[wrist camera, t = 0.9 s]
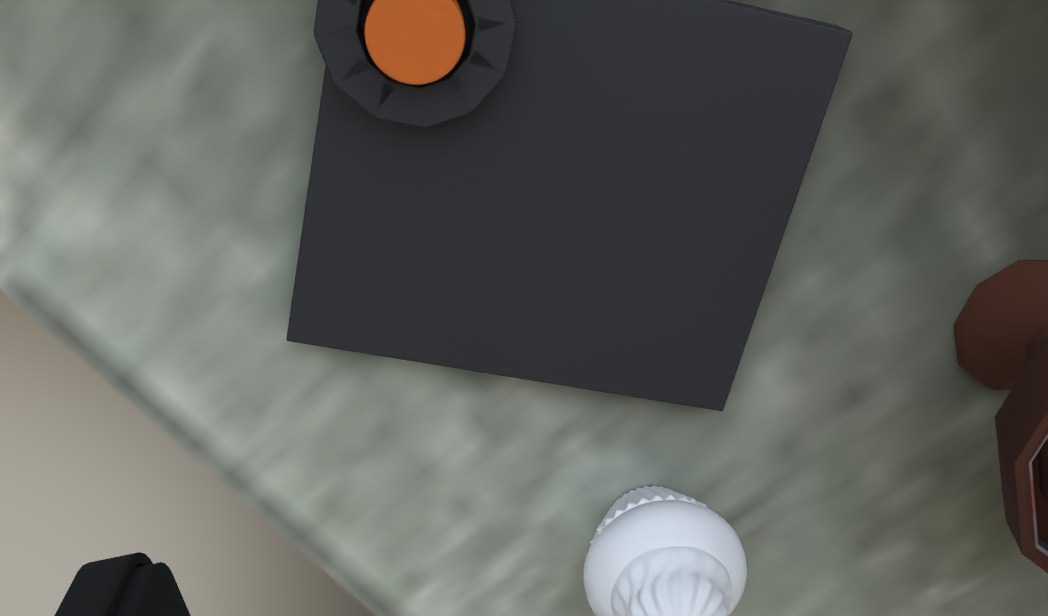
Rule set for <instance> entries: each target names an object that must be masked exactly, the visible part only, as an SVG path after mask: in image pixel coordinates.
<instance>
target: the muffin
mask: <svg viewBox="0 0 1048 616" xmlns="http://www.w3.org/2000/svg"><path fill="white" fill-rule="evenodd" d="M589 544H590V546H591V547H590V549H589V551H588V553H587V556H586V560H585V564H584V587H585V592H586V596H587V599H588V602H589V605H590V607H591V609H592V611H593V612H594V614H595V615H596V616H729V615H730V614H731V613H732V612H733V610H734V609H735V607H736V606H737V604H738V602H739V600H740V599H741V596H742V594H743V592H744V589H745V585H746V579H747V565H746V557H745V553H744V549H743V547H742V544H741V542H740V540H739V537H738V536H737V534H736V532H735V531H734V530H733V528H732V527H731V526H730V525H729V524H728V522H726V521H725V520H724V519H723V518H722V517H721V516H719V515H718V514H717V513H715V512H713V511H711V510H709V509H707V506H706V505H705V504H703V503H700V502H698V501H696V500H695V499H693V498H691V497H688V496H686V495H683V494H681V493H678V492H675V491H673V490H670V489H668V488H664V487H662V486H660V487H657V486H654V485H653V486H651V487H648V486H644V487H643V488H640V487H637V488H636V489H635V490H630V491H629V493H627V494H626V493H624V494H623V496H622V497H621V498H618V499H617V500H616V502H615V504H613V505H612V506H611V508H610V509H609V511H608V513H607V514H606V516H605V517H604V518H603V520H602V521H601V523H600V525H599V526H598V528H597V531H596V533H595V535H594V536H593V538H592V540H591V541H590V543H589Z"/></svg>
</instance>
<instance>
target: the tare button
mask: <svg viewBox="0 0 1048 616" xmlns="http://www.w3.org/2000/svg"><path fill="white" fill-rule="evenodd" d="M365 42H366V46H367V49H368V52H369V54H370V56H371V58H372V60H373V61H374V63H375V64H376V65H377V67H378V68H379V69H380V70H381V71H382V72H383V73H385V74H386V75H387V76H389V77H391V78H392V79H394V80H396V81H399V82H402V83H405V84H411V85H421V84H428V83H431V82H434V81H437V80H439V79H440V78H442V77H444V76H445V75H446V74H448V73H449V72H450V71H451V70H452V69H453V68H454V66H455V65H456V64H457V62H458V61H459V59H460V57H461V54H462V52H463V49H464V45H465V26H464V19H463V15H462V11H461V9H460V6H459V4H458V2H457V1H456V0H374V1H373V3H372V5H371V7H370V10H369V12H368V15H367V17H366V22H365Z"/></svg>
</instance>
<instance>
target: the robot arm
mask: <svg viewBox="0 0 1048 616" xmlns="http://www.w3.org/2000/svg"><path fill="white" fill-rule="evenodd" d="M55 616H190V614H189V611H188V609H187V607H186V604H185V602H184V600H183V597H182V595H181V593H180V590H179V588H178V586H177V583H176V581H175V579H174V576H173V574H172V572H171V570H170V569H169V567H168V566H167V565H166V564H165V563H161V562H160V563H156V564H153V563H152V561H151V560H150V558H149V557H147V555H145V554H143V553H140V552H139V553H134V554H129V555H124V556H120V557H115V558H110V559H105V560H100V561H95V562H90V563H87V564H85V565H83V566H82V567H81V569H80V570H79V571H78V572H77V574H76V576H75V578H74V580H73V582H72V584H71V586H70V588H69V589H68V591H67V593H66V595H65V597H64V599H63V601H62V603H61V604H60V607H59V608H58V610H57V612H56V614H55Z"/></svg>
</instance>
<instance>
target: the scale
mask: <svg viewBox="0 0 1048 616" xmlns="http://www.w3.org/2000/svg"><path fill="white" fill-rule="evenodd" d="M373 1H374V0H318V4H317V11H316V19H315V26H314V33H315V34H314V36H315V39H316V41H317V44H318V46H319V49H320V52H321V54H322V57H323V59H324V62H325V64H326V67H325V74H324V81H323V88H322V95H321V102H320V109H319V116H318V123H317V130H316V137H315V144H314V151H313V158H312V165H311V172H310V179H309V186H308V193H307V200H306V207H305V214H304V221H303V228H302V235H301V242H300V249H299V256H298V263H297V270H296V276H295V283H294V290H293V297H292V304H291V311H290V318H289V325H288V332H287V341H292V342H298V343H304V344H310V345H316V346H323V347H329V348H335V349H341V350H347V351H353V352H360V353H366V354H372V355H378V356H384V357H391V358H397V359H403V360H409V361H415V362H422V363H428V364H434V365H440V366H446V367H452V368H459V369H465V370H471V371H477V372H483V373H490V374H496V375H502V376H508V377H514V378H520V379H527V380H533V381H539V382H545V383H551V384H558V385H564V386H570V387H576V388H582V389H589V390H595V391H601V392H607V393H613V394H619V395H626V396H632V397H638V398H644V399H650V400H657V401H663V402H669V403H675V404H681V405H687V406H694V407H700V408H706V409H712V410H718V411H723V409H724V406H725V403H726V400H727V397H728V394H729V391H730V388H731V385H732V383H733V380H734V377H735V374H736V371H737V368H738V365H739V362H740V359H741V356H742V353H743V351H744V348H745V345H746V342H747V339H748V336H749V333H750V330H751V327H752V324H753V322H754V319H755V316H756V313H757V310H758V307H759V304H760V301H761V298H762V295H763V292H764V290H765V287H766V284H767V281H768V278H769V275H770V272H771V269H772V266H773V263H774V261H775V258H776V255H777V252H778V249H779V246H780V243H781V240H782V237H783V234H784V231H785V229H786V226H787V223H788V220H789V217H790V214H791V211H792V208H793V205H794V202H795V200H796V197H797V194H798V191H799V188H800V185H801V182H802V179H803V176H804V173H805V170H806V168H807V165H808V162H809V159H810V156H811V153H812V150H813V147H814V144H815V141H816V139H817V136H818V133H819V130H820V127H821V124H822V121H823V118H824V115H825V112H826V109H827V107H828V104H829V101H830V98H831V95H832V92H833V89H834V86H835V83H836V80H837V78H838V75H839V72H840V69H841V66H842V63H843V60H844V57H845V54H846V51H847V48H848V46H849V43H850V40H851V37H852V32H851V31H849V30H846V29H844V28H841V27H839V26H836V25H832V24H828V23H823V22H819V21H815V20H811V19H806V18H802V17H798V16H793V15H789V14H785V13H780V12H776V11H772V10H767V9H763V8H759V7H754V6H750V5H746V4H742V3H737V2H733V1H729V0H456V1H457V2H458V4H459V6H460V9H461V11H462V15H463V19H464V26H465V45H464V49H463V52H462V54H461V57H460V59H459V61H458V62H457V64H456V65H455V66H454V68H453V69H452V70H451V71H450V72H449V73H448V74H446V75H445V76H444V77H442V78H440V79H439V80H437V81H434V82H431V83H428V84H421V85H411V84H405V83H402V82H399V81H396V80H394V79H392V78H391V77H389V76H387V75H386V74H385V73H383V72H382V71H381V70H380V69H379V68H378V67H377V65H376V64H375V63H374V61H373V60H372V58H371V56H370V54H369V52H368V49H367V46H366V42H365V22H366V17H367V15H368V12H369V10H370V7H371V5H372V3H373Z"/></svg>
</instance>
